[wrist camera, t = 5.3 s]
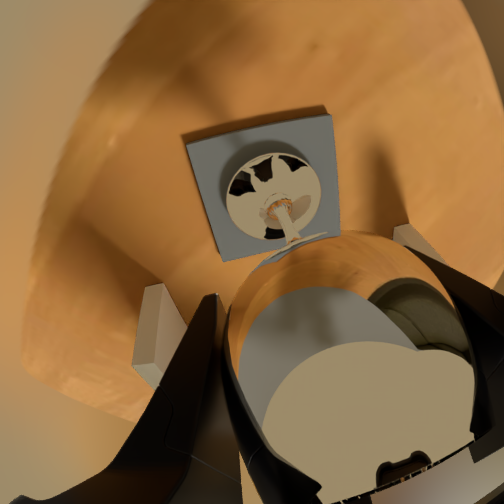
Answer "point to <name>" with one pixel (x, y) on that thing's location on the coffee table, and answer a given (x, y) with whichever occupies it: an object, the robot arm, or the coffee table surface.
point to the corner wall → (173, 327)
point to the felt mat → (250, 146)
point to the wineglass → (340, 352)
